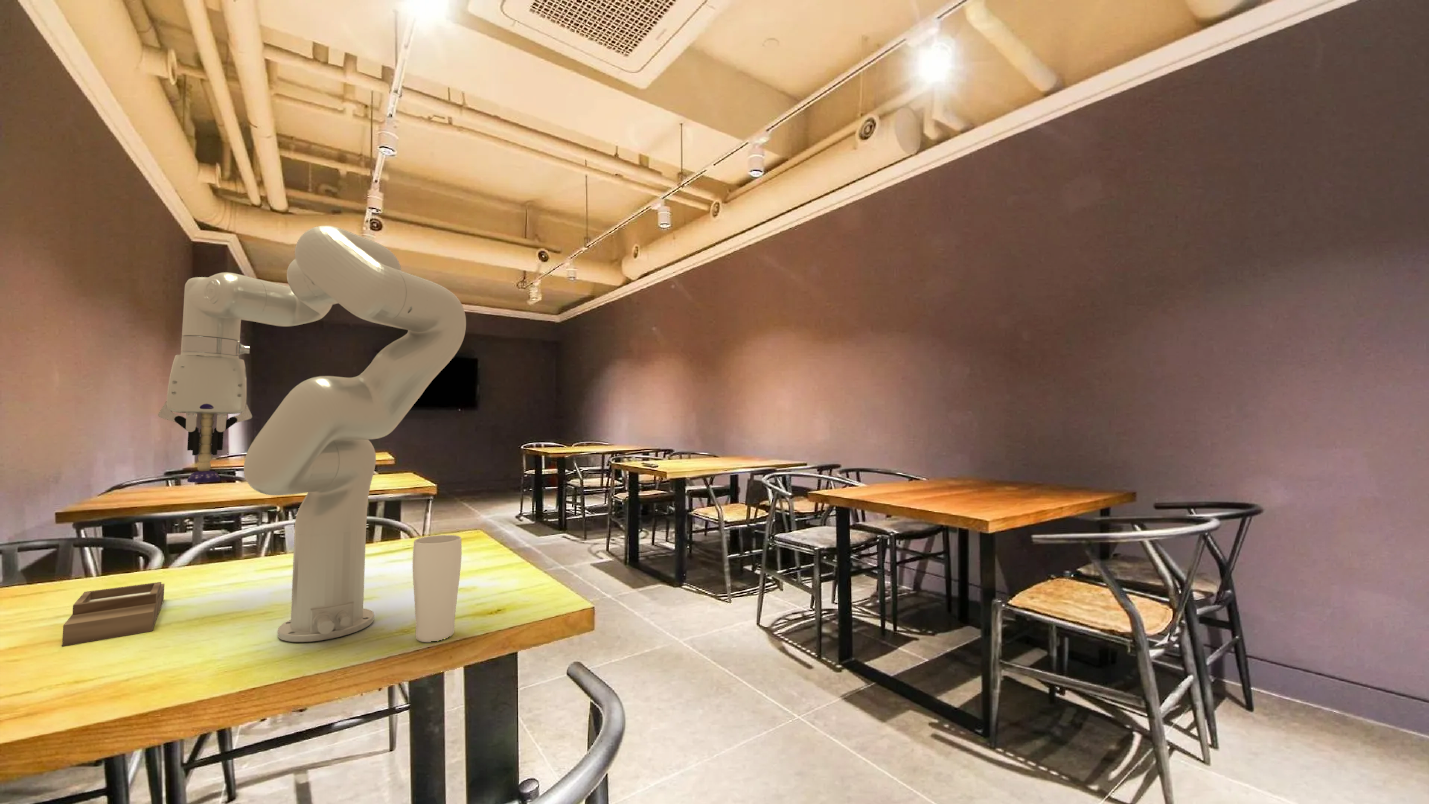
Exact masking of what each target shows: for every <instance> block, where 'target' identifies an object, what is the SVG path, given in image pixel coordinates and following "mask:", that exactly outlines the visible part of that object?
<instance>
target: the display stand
mask: <svg viewBox="0 0 1429 804" xmlns="http://www.w3.org/2000/svg"><path fill="white" fill-rule="evenodd" d="M164 598H165V583H162V582H161V581H158V582H151V583H141V584H135V585H127V586H120V587H113V588H104V589H103V588H102V589H96V590H90V591H88V590H86V591H84V592H83V593H82V594H81V596H79V597H78V598H77V600H76V601H75V602H74V604H73V605H72V614H71V615H70V616H69V618H68V619H67V620H66V621H65V623H64V624H63V625H62V641H61V647H65V646H66V647H67V646H71V645H77V644H84V643H88V642H95V641H101V640H108V639H113V638H120V637H126V636H130V635H135V634H143V633H147V632H148V633H149V632H153V629H154V627H155V624H156V622H157V619H158V616H159V613H160V611H161V608H162V605H163V604H164V600H165V599H164Z"/></svg>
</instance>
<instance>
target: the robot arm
mask: <svg viewBox="0 0 1429 804" xmlns="http://www.w3.org/2000/svg"><path fill="white" fill-rule="evenodd" d="M286 279H287V283H288V285H283V284H280V283H275V282H272V281H267V280H264V279H260V278H255V277H252V276H247V275H244V274H238V273H235V272H219V273H215V274H213V275H210V276H209V277H206V276H204V277H203V276H201V277H200V276H199V277H198V276H195V277H192V278H188V280H187V281H186V282H185V284H184V293H183V297H184V298H183V310H182V311H183V312H182V315H183V316H182V329H181V330H182V331H181V346H180V354H176V355H174V359H173V361H172V365H171V369H170V374H169V377H168V378H169V379H168V385H167V393H166V401H165V402H164V404H163V405H162V407H161V409H160V410H159V412H158V413H157V416H158V417H159V418H160V419H164V420H168V421H170V422H173V423H176V424H178V425H179V426H180V427H181V428H182V429H184V430H185V431H186V432H187V433H188V434H187V446H186V447H187V449H186V450H187V451H192V453H191V454H192V456H197V455H198V456H199V454H200V452H199V446H200V445H201V444H200V442H199V439H200V437H201V434H200V429H199V428H198V427H197V426H198V414H201V413H204V414H214V415H215V414H216V427H215V428H213V433H212V444H211V445H212V446H211V455H212V456H217V455H218V451H223V450H224V449H223V448H224V447H223V446H224V432H225V431H226V430H228V429H229V428H231V427H232V426H234V425H235V424H236V423H237V424H238V423H241V422H243V421H248V420H251V419H252V418H253V415H252V413H251V411H250V408H249V406H248V404H247V400H248V399H247V398H248V397H247V393H248V391H247V388H248V387H247V369H246V364H245V360H244V359H241V358H240V355H244V354H248V355H249V354H250V349H251V348H250V346H248V345H244V344H242V343H240V342H241V338H240V337H241V325H242V323H241V322H242V321H248V322H254V323H255V322H256V323H260V324H265V325H271V326H274V327H275V326H276V327H294V326H299V325H303V324H310V323H313V322H314V323H315V322H316V321H319V320H321V319H323V318H324V317H325V316H326V315H327V314H328V313H329V312H330V311H331V309H332V307H333V305H337V304H339V305H340V306H341V307H343V308H344V309H345V310H346V311H348V312H350V314H352V315H354V316H355V317H357V318H359V319H362V320H364V321H367V322H370V323H375V324H379V325H384V326H387V327H391V328H392V327H393V328H396V329H401V330H406V331H407V333H405V334H404V335H403V336H401V337H399V338H398V339H396V340H394V341H392V342H391V343H389V344H388V345H386V346H385V347H384V348H382V349H381V350H380V351H379V352H378V353H377V354H376V355H375V356H374V357H373V359H372V361H371V363H369V365H368V366H367V367H366V368H365V369H364V371H362V372H361V373H360V374H359V375H357V376H353V377H346V376H345V377H343V376H334V375H319V376H313V377H311V378H308V379H306V380H303V381H301V382H300V383H298V384H297V385H296V386H294V387H293V388H292V389H291V390H290V391H289V392H288V394H287V395H286V396H285V397H284V398H283V400H282V401H281V403H279V405H278V407H277V408H276V409H275V411H274V412H273V413H272V415H271V416H270V418H269V419H267V422H266V423H265V424H264V425H263V427H262V428H261V430H260V431H259V432H258V433H257V435H256V436H255V438H254V439H253V441H252V442H251V444H250V446H249V448H248V449H247V452H246V454H245V458H244V462H243V474H244V475H243V476H244V477H245V480H246V482H247V484H248V485H249V486H250V487H251V488H252V489H253V490H254V491H256V492H258V493H260V494H263V495H267V496H288V495H289V496H290V495H298V494H306V495H305V497H304V498H303V500H302V503H301V504H300V505H299V508H298V510H297V513H296V516H295V520H294V521H295V522H294V536H293V558H292V559H293V561H292V579H291V580H292V581H291V583H292V584H291V585H292V586H291V587H292V588H291V606H290V607H291V608H290V609H291V610H290V619H288V620H286V621H284V622H283V623H282V624H281V625H279V626H278V628H277V637H278V638H279V640H282V641H286V642H291V643H309V642H319V641H325V640H332V639H336V638H340V637H344V636H348V635H351V634H354V633H356V632H359V631H362V630H364V629H365V628H368V627H369V626H370V625H372V624H373V622H374V619H375V614H374V612H373V610H371V609H368V608H364V597H365V596H364V595H365V594H364V593H365V569H366V566H365V565H366V543H367V542H366V540H367V539H366V538H367V523H368V521H367V519H368V518H367V517H368V503H369V495H370V489H371V485H372V481H373V477H374V474H375V468H376V463H377V457H376V455H377V454H376V449H375V448H374V445H373V444H372V442H371V441H370V440H376V439H381V438H384V437H386V436H388V435H389V434H391V433H392V432H393V431H394V430H395V429H396V428H397V427H398V425H399V424H401V422H402V421H403V419H404V418H405V417H406V415H407V414H408V413H409V412H410V410H411V409H412V407H413V406H414V404H416V402H417V401H418V399H420V398H421V396H422V395H423V393H424V392H425V390H426V389H427V388H428V387H429V385H430V384H431V383H432V381H433V380H434V379H435V378H436V377H437V376H438V375H439V374H440V373H441V371H443V369H445V367H446V366H447V365H448V364H449V363H450V361H452V359H454V358H455V356H456V354H457V353H458V351H459V350H460V348H461V346H462V344H463V341H464V338H465V335H466V328H467V317H466V313H465V312H466V311H465V308H464V306H463V303H462V302H461V300H460V299H459V298H458V297H457V296H456V294H455V293H453V292H452V291H451V290H449V289H448V288H447V287H445V286H443V285H441V284H439V283H436V282H434V281H431V280H430V279H426V278H423V277H421V276H417V275H414V274H412V273H408V272H406V271H402V268H401V264H400V261H399V259H398V257H397V255H395V254H394V253H393V251H391V250H390V249H389V248H387V247H386V246H384V245H382V244H381V243H379V242H378V241H377V242H376V241H374V240H372V239H368V238H366V237H363V236H361V235H358V234H356V233H353V232H351V231H348V230H346V229H344V228H340V227H337V226H333V225H319V226H314V227H312V228H310V229H308V230H306V231H304V233H303V234H302V235H301V236H300V237H299V239H298V240H297V241H296V244H295V249H294V259H293V260H292V261H291V262H290V263H289V265H288V267H287V270H286ZM203 404H210V405H212V406H213V407H214V408H213V409H200V406H201V405H203ZM175 413H176V414H175ZM178 413H180V414H186V416H185V417H184V415H183V416H182V415H179V414H178ZM228 414H229V415H234V416H231V417H229V418H228ZM235 414H237V415H235Z"/></svg>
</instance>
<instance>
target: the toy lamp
mask: <svg viewBox="0 0 1429 804" xmlns="http://www.w3.org/2000/svg"><path fill="white" fill-rule="evenodd" d="M213 408H214V407H213V406H212V405H210V404H203V405H201V406H200V409H213ZM214 415H215V414H204V413H200V418H201V419H200V422H199V423H200V429H199V432H200V439H199V442H200V446H199V454H198V456H197V459H198V464H197V471H194V472H193V473H191V474H190V475H189V476H188V477H187V483H211V482H219V481H221V476H220V475H219V473H218V472H216V471H214V470H211V466H212V464H211V460H212V454H211V446H212V433H213V432H214V428H213V426H214V422H215V421H214Z"/></svg>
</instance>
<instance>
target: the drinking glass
mask: <svg viewBox="0 0 1429 804" xmlns="http://www.w3.org/2000/svg"><path fill="white" fill-rule="evenodd" d="M412 548H413V549H412V582H413V583H412V585H413V597H414V615H415V616H414V618H415V638H416V640H417V641H419V642H421V643H432V642H431V641H437V642H439V641H438V640H441V641H443V640H442V639H444V638H447V639H449V638H450V637H452V636H453V635H454V633H455V627H456V625H455V622H456V621H455V619H456V613H457V600H458V593H459V585H460V578H461V567H462V555H463V553H462V537H461V536H460V535H456V534H455V535H454V534H439V535H438V534H437V535H436V534H435V535H428V536H423V537H419V538H417V539H414V541H413V547H412ZM449 636H450V637H449ZM448 637H449V638H448ZM444 640H445V639H444Z"/></svg>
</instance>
